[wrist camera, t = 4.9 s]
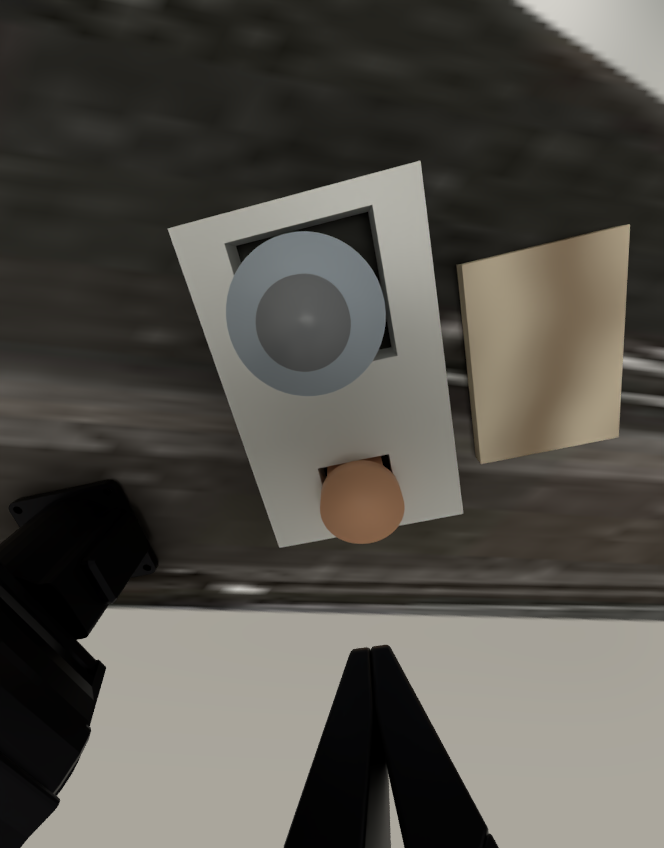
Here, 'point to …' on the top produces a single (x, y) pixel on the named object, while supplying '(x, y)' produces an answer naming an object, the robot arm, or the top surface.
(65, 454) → the top surface
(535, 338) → the pad
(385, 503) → the plunger
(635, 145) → the top surface
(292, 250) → the cylinder
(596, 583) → the top surface
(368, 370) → the white tray
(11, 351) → the top surface
